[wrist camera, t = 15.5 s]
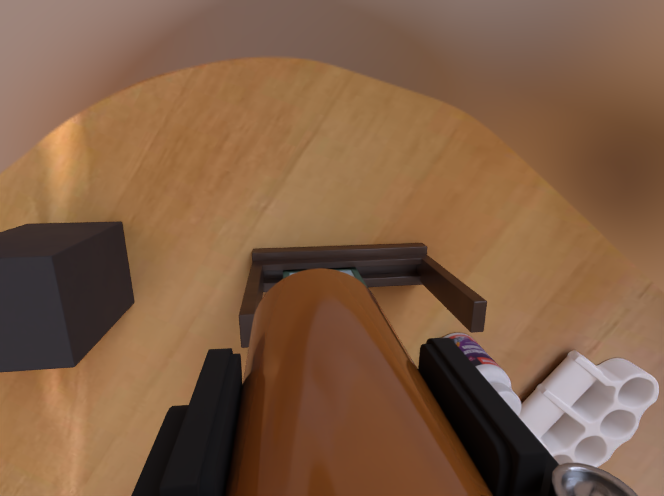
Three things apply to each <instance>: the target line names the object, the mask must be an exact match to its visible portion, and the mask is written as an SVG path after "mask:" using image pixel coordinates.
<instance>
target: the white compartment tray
mask: <svg viewBox="0 0 664 496" xmlns="http://www.w3.org/2000/svg"><path fill="white" fill-rule="evenodd" d="M590 386H591V387H590ZM589 387H590V388H589ZM588 388H589V389H588ZM587 389H588V390H587ZM586 390H587V391H586ZM658 394H659V386H658V383H657V381H656V379H655V378H654V377H653V376H652V375H650V374H649V373H647V372H646V371H644V370H642V369H641V368H639V367H638V366H636V365H634V364H633V363H631V362H630V361H628V360H626V359H622V358H613V359H609V360H606V361H604V362H603V363H601V364H600V365H594V364H593V363H592V362H590V361H589V360H588V359H587V358H585V357H584V356H583V355H581V354H580V353H579V352H577V351H576V350H573V351H570V352H569V353H568V354H567V357H566V358H565V359H564V360H563V361H562V362H561V363H560V364H559V365H558V367H557V368H556V369H555V370H554V371H553V372H552V373H551V374H550V375H549V376H548V377H547V378H546V379H545V380H544V381H543V382H542V383H541V384H539V385H538V386H537V387H536V389H535V390H534V391H533V393H532V394H531V395H530V396H529V397H528V398H527V399H526V400H525V401H524V402H523V403H522V404H521V412H520V415H519V416H518V417H519V418H520V419H521V420H522V421H523V422H524V424H525V425H526V426H527V427H528V428H529V429H530V431H531V432H532V433H533V434H534V435H535V436H536V438H537V439H538V440H539V441H540V442H541V443H542V444H543V446H544V447H545V448H546V449H547V450H548V451H549V453H550V454H551V455H552V457H553V458H554V459H555V460H556V461H557V462H558V463H559V465H561V464H564V463H582V464H587V465H591V466H594V467H596V468H597V467H598V466H600V465H601V464H603V463H604V462H606V461H607V460H609V459H610V457H611V455H612V453H613V452H614V451H615V449H616V448H617V447H618V446H620V445H621V444H622V443H624V442H626V441H628V440H630V438H631V437H632V435H633V434H634V432H635V431H636V430H637V428H638V425H639V421H640V418H641V416H642V414H643V413H644V411H645V410H646V409H647V408H648V407H649V406H650V405H652V404H653V403H655V402H656V400H657V397H658ZM551 426H552V427H551ZM550 427H551V428H550ZM549 428H550V429H549Z"/></svg>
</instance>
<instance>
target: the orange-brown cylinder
mask: <svg viewBox="0 0 664 496" xmlns="http://www.w3.org/2000/svg"><path fill="white" fill-rule="evenodd" d="M224 496H493V494H492V492H491V491H490V489H489V487H488V486H487V484H486V482H485V481H484V479H483V477H482V476H481V474H480V472H479V471H478V469H477V467H476V466H475V464H474V462H473V461H472V459H471V457H470V456H469V454H468V452H467V451H466V449H465V447H464V446H463V444H462V442H461V441H460V439H459V437H458V436H457V434H456V432H455V431H454V429H453V427H452V426H451V424H450V422H449V421H448V419H447V417H446V416H445V414H444V412H443V411H442V409H441V407H440V406H439V404H438V402H437V401H436V399H435V397H434V396H433V394H432V392H431V391H430V389H429V387H428V386H427V384H426V382H425V381H424V379H423V377H422V376H421V374H420V372H419V371H418V369H417V367H416V366H415V364H414V362H413V361H412V359H411V357H410V356H409V354H408V352H407V351H406V349H405V347H404V346H403V344H402V342H401V340H400V339H399V337H398V335H397V334H396V332H395V330H394V329H393V327H392V325H391V324H390V322H389V320H388V319H387V317H386V315H385V314H384V312H383V310H382V309H381V307H380V305H379V304H378V302H377V300H376V299H375V297H374V296H373V294H372V293H371V291H370V290H369V289H368V288H367V287H366V286H365V285H364V284H363V283H362V282H360V281H359V280H358V279H356V278H354V277H353V276H351V275H349V274H346V273H344V272H341V271H337V270H332V269H321V268H318V269H308V270H304V271H300V272H297V273H294V274H292V275H290V276H288V277H286V278H284V279H282V280H281V281H279V282H278V283H276V284H275V285H274V286H273V287H272V288H271V289H270V290H269V291H268V292H267V293H266V294H265V295H264V297H263V298H262V300H261V301H260V303H259V305H258V307H257V309H256V312H255V315H254V318H253V324H252V330H251V336H250V342H249V348H248V354H247V360H246V366H245V372H244V378H243V384H242V390H241V396H240V402H239V408H238V414H237V420H236V426H235V432H234V438H233V444H232V450H231V456H230V462H229V469H228V475H227V481H226V487H225V493H224Z"/></svg>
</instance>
